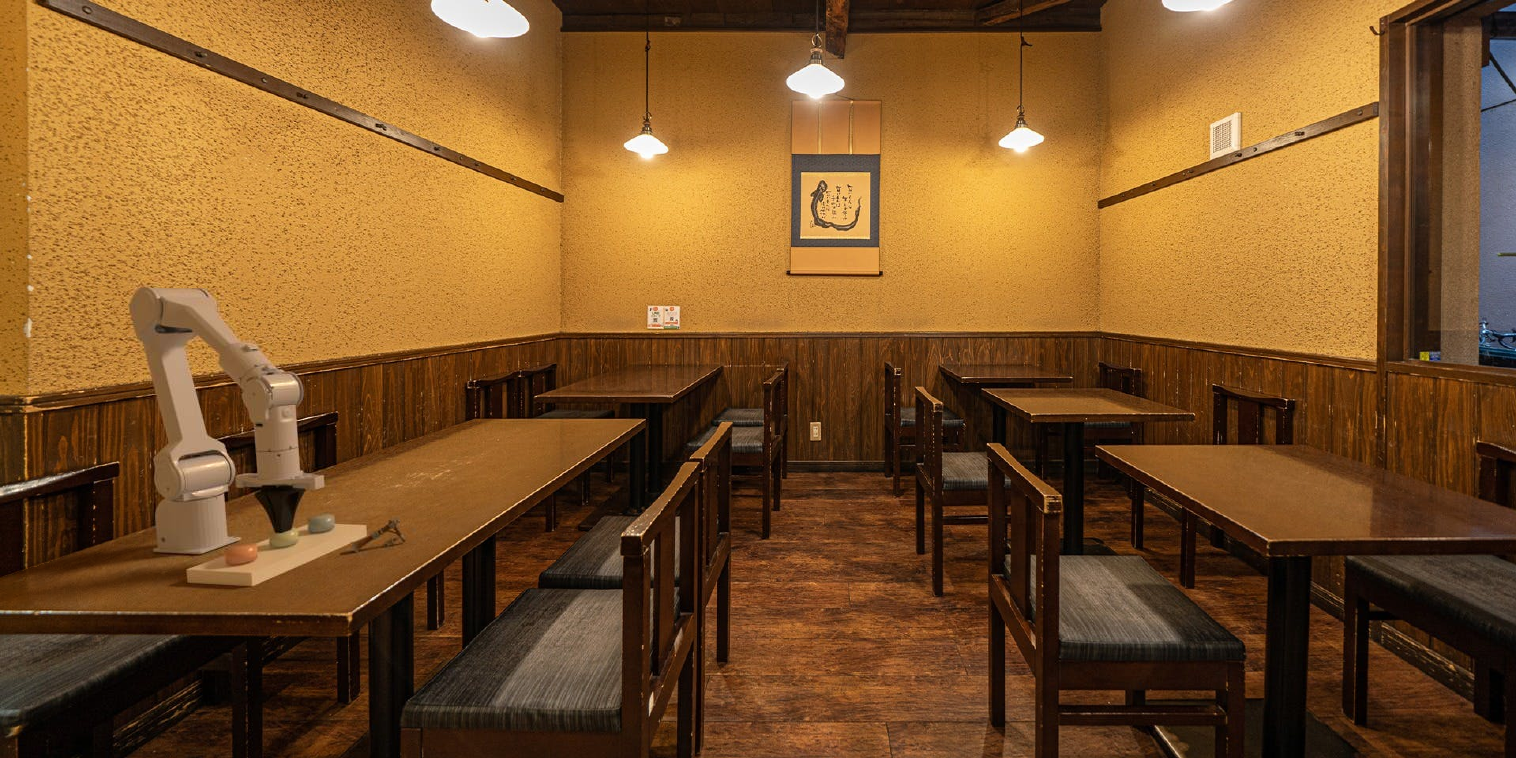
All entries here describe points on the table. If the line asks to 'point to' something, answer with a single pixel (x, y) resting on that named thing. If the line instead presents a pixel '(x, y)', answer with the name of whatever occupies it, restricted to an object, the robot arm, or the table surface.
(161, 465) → the robot arm
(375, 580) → the table surface
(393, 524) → the wooden post with brackets
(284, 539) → the sage button
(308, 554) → the button panel
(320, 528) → the slate button
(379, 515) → the table surface
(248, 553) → the orange rounded dome
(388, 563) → the table surface
